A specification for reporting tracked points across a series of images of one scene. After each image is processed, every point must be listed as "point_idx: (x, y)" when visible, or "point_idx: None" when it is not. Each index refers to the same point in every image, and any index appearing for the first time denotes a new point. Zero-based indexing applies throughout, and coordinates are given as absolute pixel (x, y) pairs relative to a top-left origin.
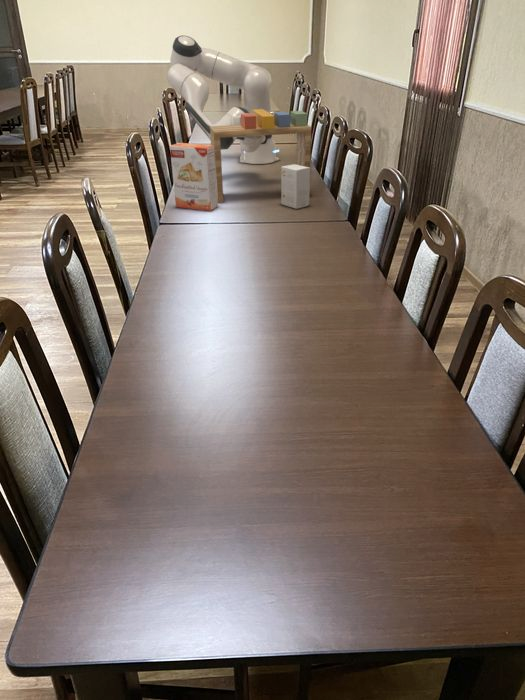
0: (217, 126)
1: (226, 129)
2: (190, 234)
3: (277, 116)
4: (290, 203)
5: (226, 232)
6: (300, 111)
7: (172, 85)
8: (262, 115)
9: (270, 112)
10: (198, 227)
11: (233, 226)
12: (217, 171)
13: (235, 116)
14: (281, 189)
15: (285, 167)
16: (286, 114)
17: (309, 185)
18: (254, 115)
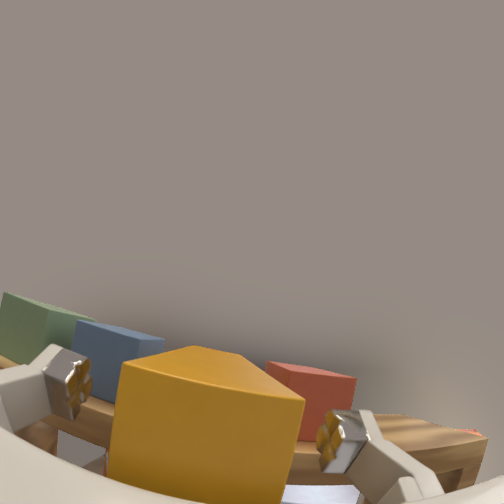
0: (457, 439)
1: (379, 421)
2: (342, 488)
3: (157, 350)
4: None
5: (292, 486)
6: (24, 298)
7: None
8: (238, 355)
9: (89, 361)
10: (339, 500)
11: (284, 496)
12: None
13: (501, 476)
14: None
15: None
16: (132, 330)
17: (104, 469)
18: (274, 362)
